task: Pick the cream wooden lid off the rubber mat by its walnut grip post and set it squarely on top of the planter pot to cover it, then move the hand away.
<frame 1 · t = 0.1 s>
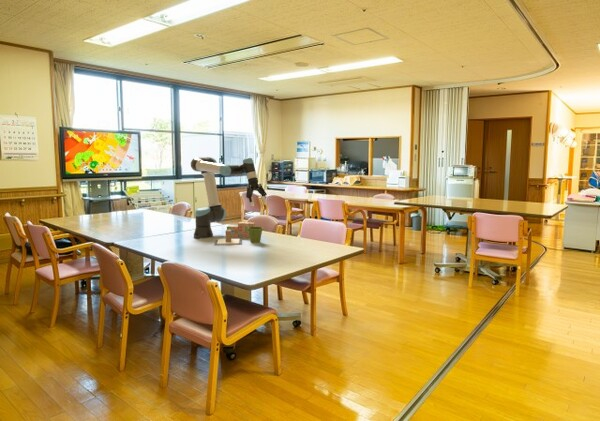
hand: (259, 205, 307), 28 cm above the table, tool tilted 20°, fingers open, 13 cm apart
plant pot: (255, 242, 308), on the table
mat: (228, 243, 305), on the table
stack of blocks: (240, 237, 327), on the table
lid: (228, 242, 305), point 1 cm above the table, touching mat
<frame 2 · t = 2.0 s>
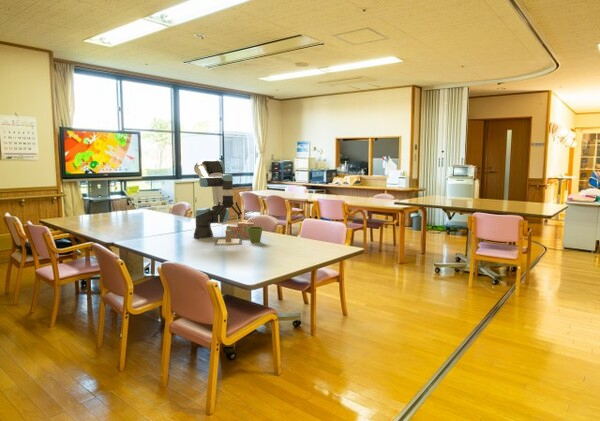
hand: (228, 223, 303), 15 cm above the table, tool pointing down, fingers open, 13 cm apart
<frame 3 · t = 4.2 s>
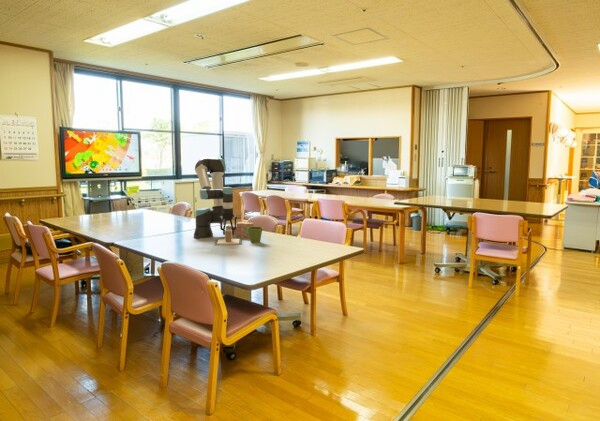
hand: (228, 239, 305), 3 cm above the table, tool pointing down, fingers closed on lid, 4 cm apart
lid: (228, 242, 305), point 1 cm above the table, touching gripper, mat
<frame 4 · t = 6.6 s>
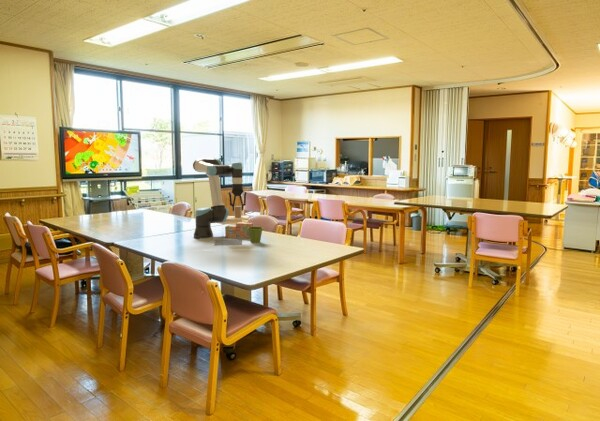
hand: (238, 215, 303), 21 cm above the table, tool pointing down, fingers closed on lid, 4 cm apart
lid: (238, 218, 303), point 19 cm above the table, touching gripper
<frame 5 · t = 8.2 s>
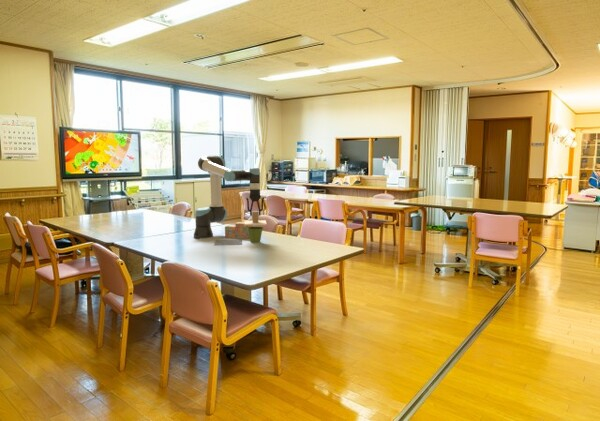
hand: (255, 220, 306), 17 cm above the table, tool pointing down, fingers closed on lid, 4 cm apart
lid: (255, 223, 306), point 15 cm above the table, touching gripper
when the fingers open (15 cm above the table, at t = 9.2 s): lid drops 1 cm, resting on plant pot.
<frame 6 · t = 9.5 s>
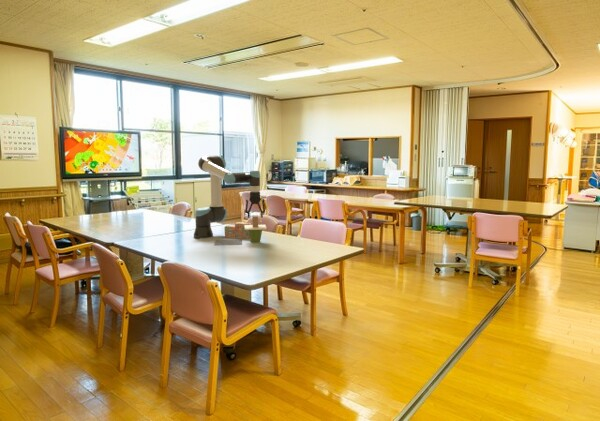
hand: (255, 222, 306), 16 cm above the table, tool pointing down, fingers open, 7 cm apart
plant pot: (255, 242, 308), on the table, touching lid
lid: (255, 227, 307), point 11 cm above the table, touching plant pot
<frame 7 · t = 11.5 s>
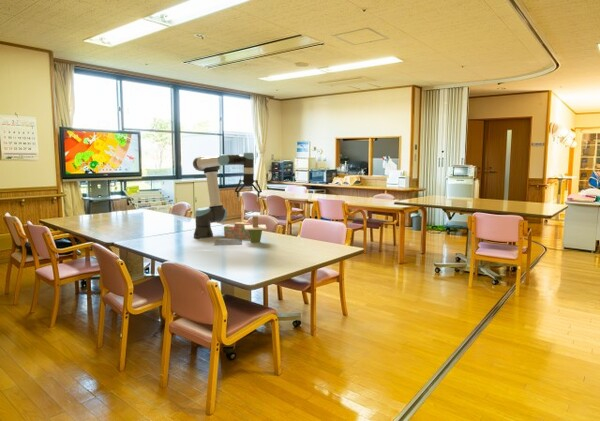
hand: (248, 201, 308), 31 cm above the table, tool pointing down, fingers open, 13 cm apart
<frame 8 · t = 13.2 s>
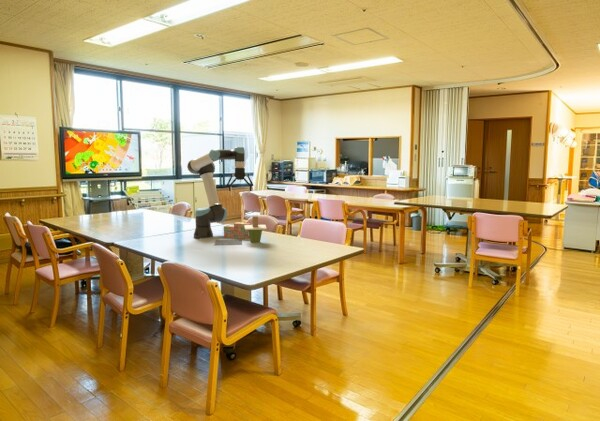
hand: (240, 195, 313), 35 cm above the table, tool pointing down, fingers open, 13 cm apart
at the end: lid 0.1 cm off-centre on the plant pot, point 11.5 cm above the plant pot's base; lid tilted 0°; plant pot tilted 0° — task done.
